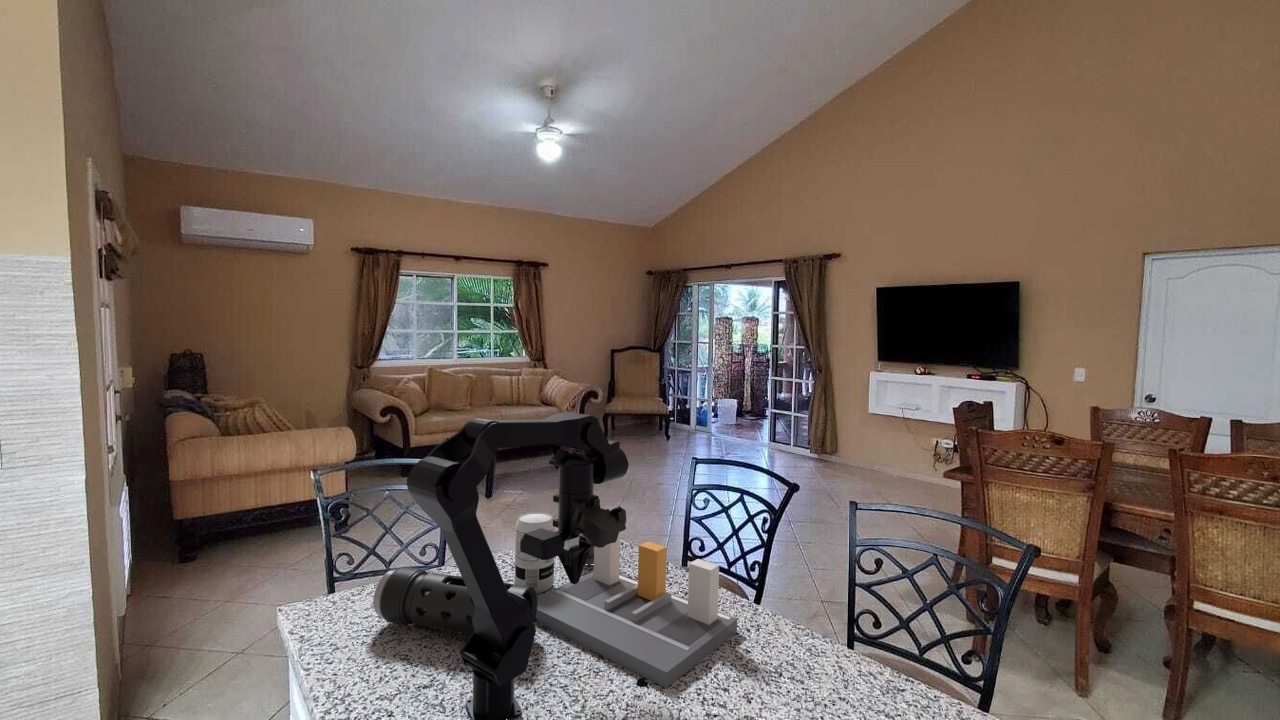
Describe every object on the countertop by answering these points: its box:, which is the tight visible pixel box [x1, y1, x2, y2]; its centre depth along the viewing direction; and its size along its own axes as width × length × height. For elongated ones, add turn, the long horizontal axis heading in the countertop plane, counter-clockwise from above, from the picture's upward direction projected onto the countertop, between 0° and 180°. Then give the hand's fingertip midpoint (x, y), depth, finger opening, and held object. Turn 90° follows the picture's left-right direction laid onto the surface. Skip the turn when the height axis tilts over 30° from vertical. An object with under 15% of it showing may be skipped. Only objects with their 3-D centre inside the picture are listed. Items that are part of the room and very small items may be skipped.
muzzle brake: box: [372, 566, 538, 636], centre depth 100 cm, size 10×28×10 cm, turn 76°
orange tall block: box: [637, 541, 668, 601], centre depth 110 cm, size 3×5×10 cm, turn 51°
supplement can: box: [514, 512, 556, 595], centre depth 119 cm, size 8×8×15 cm
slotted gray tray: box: [534, 533, 738, 689], centre depth 105 cm, size 22×34×12 cm, turn 51°
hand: (574, 583), depth 92 cm, fingers closed
